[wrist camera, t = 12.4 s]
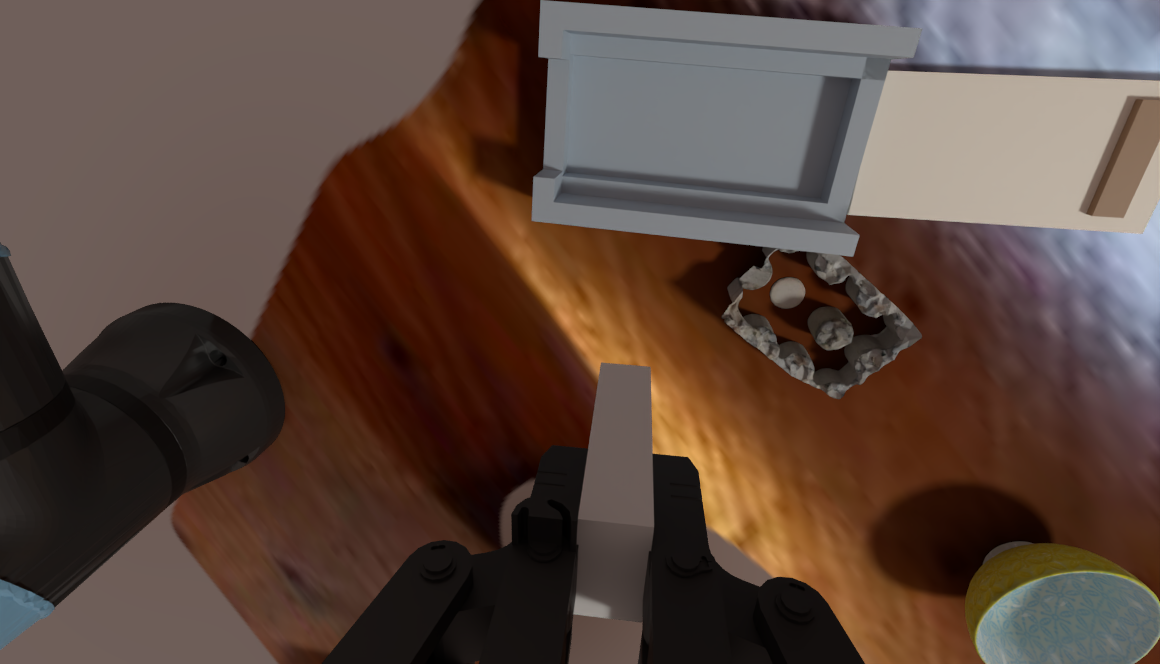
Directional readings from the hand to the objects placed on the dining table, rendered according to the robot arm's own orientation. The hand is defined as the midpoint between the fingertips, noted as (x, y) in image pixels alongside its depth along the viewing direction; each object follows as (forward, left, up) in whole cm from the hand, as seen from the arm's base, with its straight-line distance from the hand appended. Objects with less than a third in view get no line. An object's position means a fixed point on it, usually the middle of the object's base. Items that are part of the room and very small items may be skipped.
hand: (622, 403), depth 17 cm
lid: (+20, +7, -22) cm, 30 cm away
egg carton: (+12, -4, -22) cm, 25 cm away
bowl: (+32, -23, -21) cm, 45 cm away
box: (+3, +7, -21) cm, 22 cm away
